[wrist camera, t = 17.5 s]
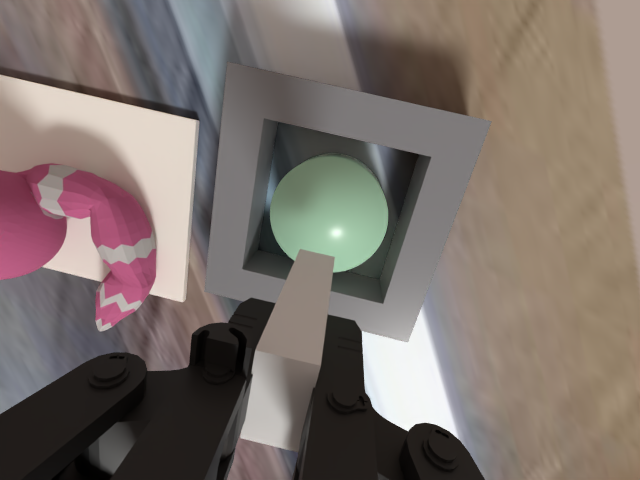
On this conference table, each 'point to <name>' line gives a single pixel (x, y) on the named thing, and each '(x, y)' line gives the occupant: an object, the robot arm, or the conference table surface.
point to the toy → (51, 226)
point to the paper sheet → (108, 168)
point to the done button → (330, 210)
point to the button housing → (352, 122)
